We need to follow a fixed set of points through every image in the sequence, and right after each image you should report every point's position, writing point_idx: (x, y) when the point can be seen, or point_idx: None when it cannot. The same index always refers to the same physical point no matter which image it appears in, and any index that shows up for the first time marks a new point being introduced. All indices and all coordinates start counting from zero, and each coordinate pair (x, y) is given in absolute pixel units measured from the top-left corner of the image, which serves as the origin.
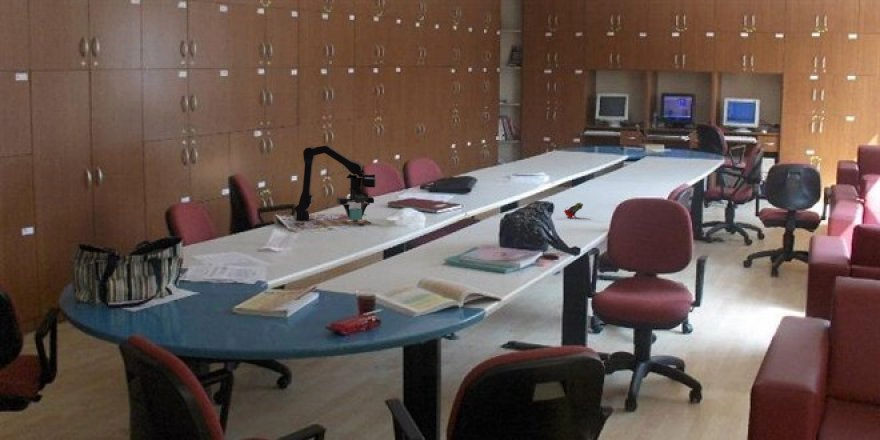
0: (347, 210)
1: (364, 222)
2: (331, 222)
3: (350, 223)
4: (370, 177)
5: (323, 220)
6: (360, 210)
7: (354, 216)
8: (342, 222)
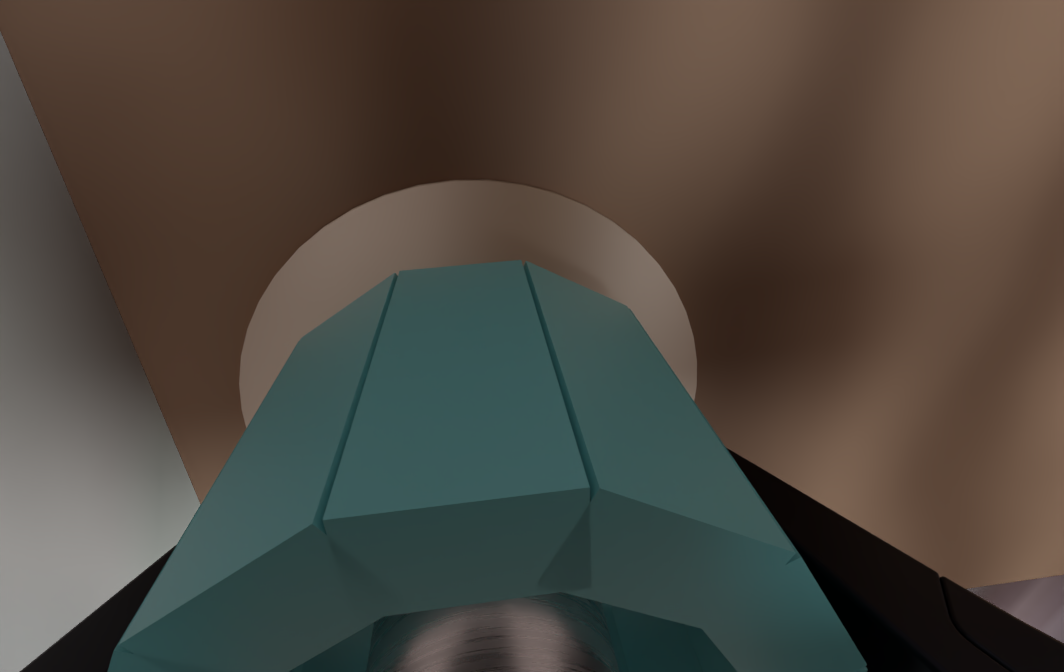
0: (968, 600)
1: (232, 275)
2: (1030, 384)
3: (686, 180)
4: None
5: (1014, 580)
6: (234, 546)
7: (589, 323)
8: (812, 355)
